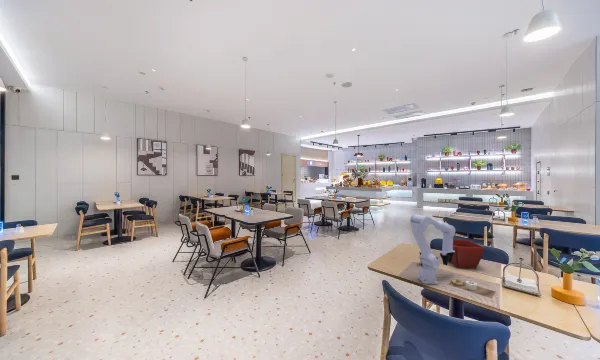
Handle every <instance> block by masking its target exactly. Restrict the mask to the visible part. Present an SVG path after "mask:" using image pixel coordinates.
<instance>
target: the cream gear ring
mask: <svg viewBox="0 0 600 360" xmlns="http://www.w3.org/2000/svg"><path fill="white" fill-rule="evenodd" d="M470 281H471V282H473V284H470ZM465 283H466V288H468V289H470V290H477V286H478V283H477V282H475V281H472V280H465Z"/></svg>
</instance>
